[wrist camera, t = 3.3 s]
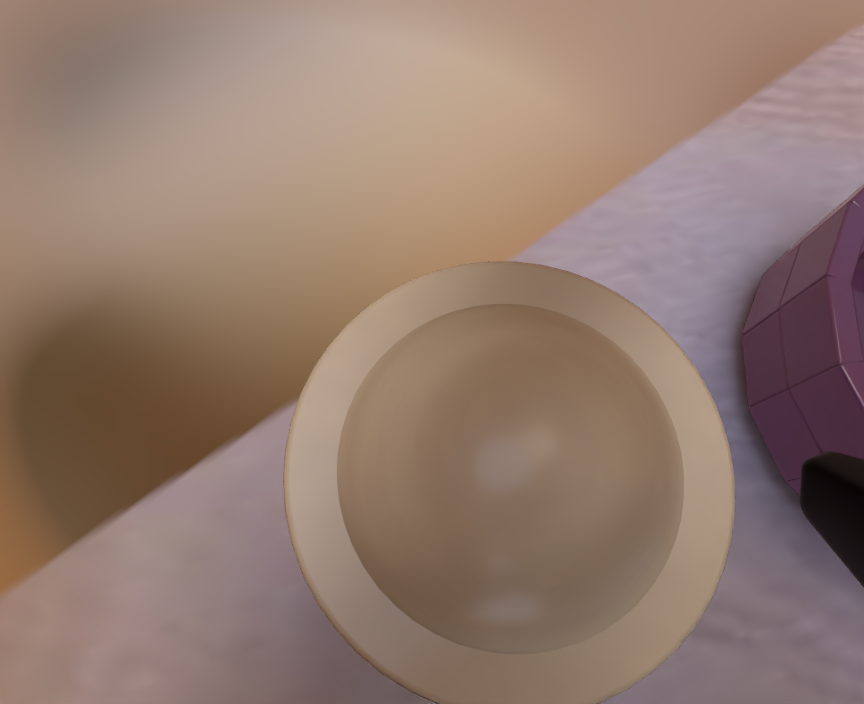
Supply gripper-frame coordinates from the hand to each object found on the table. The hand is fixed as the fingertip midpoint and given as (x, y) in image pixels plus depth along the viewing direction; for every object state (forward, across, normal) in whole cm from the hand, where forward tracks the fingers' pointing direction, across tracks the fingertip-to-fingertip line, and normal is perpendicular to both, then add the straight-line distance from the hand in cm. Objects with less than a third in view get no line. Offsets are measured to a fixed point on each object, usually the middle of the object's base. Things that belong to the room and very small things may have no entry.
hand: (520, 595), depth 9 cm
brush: (+7, 0, +5) cm, 9 cm away
